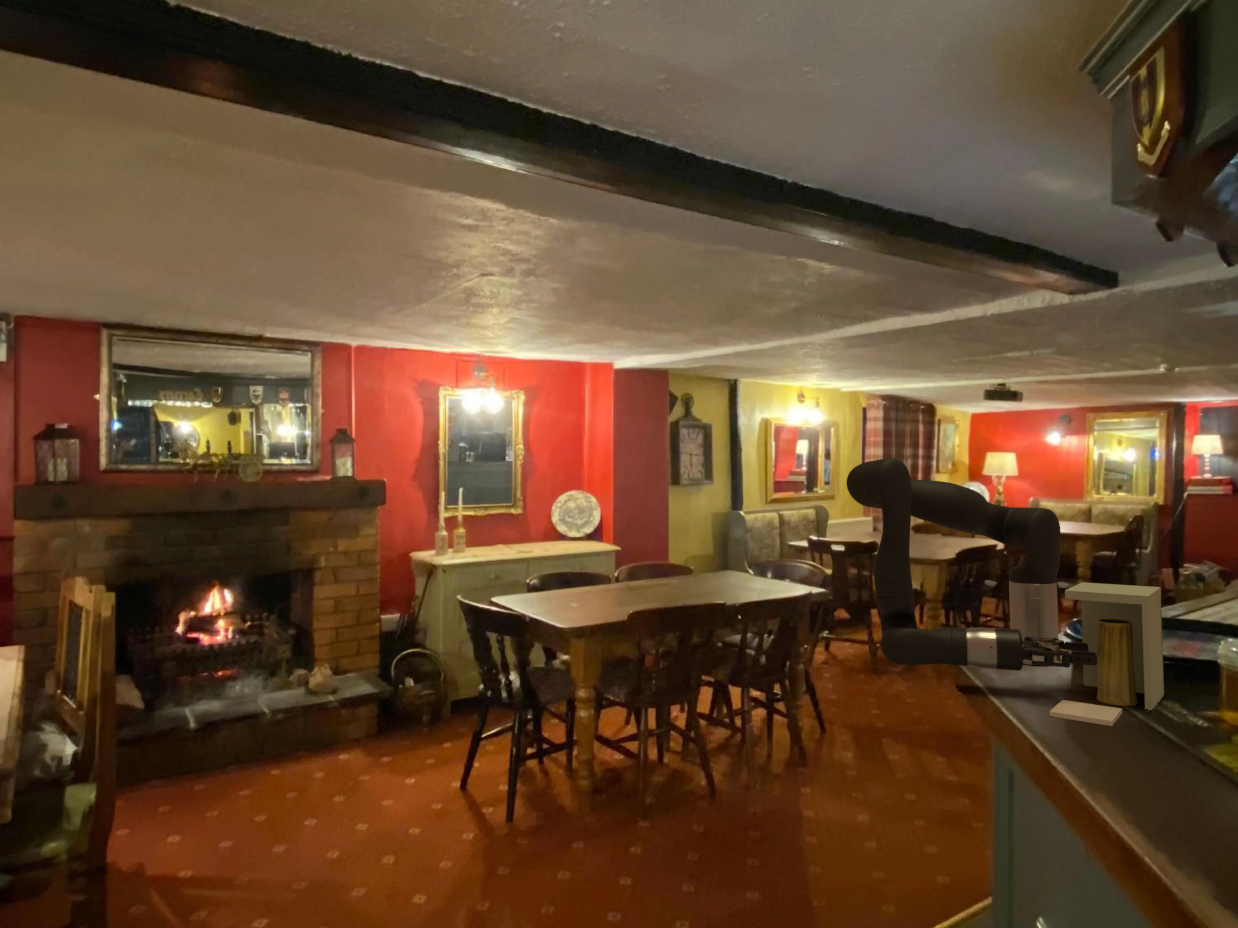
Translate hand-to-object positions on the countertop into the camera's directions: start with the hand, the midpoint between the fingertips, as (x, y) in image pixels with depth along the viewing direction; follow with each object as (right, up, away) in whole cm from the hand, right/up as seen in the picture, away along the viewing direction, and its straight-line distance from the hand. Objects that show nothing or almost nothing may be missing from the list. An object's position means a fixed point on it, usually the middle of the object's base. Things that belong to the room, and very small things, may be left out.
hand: (1092, 653), depth 145 cm
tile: (-7, -8, -10) cm, 14 cm away
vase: (+3, -8, -2) cm, 9 cm away
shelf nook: (+5, -8, +1) cm, 9 cm away
